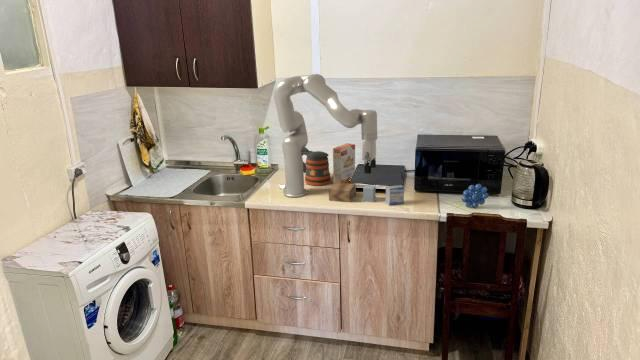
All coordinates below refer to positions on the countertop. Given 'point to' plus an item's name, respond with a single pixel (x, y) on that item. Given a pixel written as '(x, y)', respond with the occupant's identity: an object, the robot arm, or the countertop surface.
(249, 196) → the countertop surface
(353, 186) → the walnut block
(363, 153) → the robot arm
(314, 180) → the beer stein
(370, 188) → the slate box
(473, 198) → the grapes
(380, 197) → the countertop surface
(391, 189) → the medicine box
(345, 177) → the cracker box
